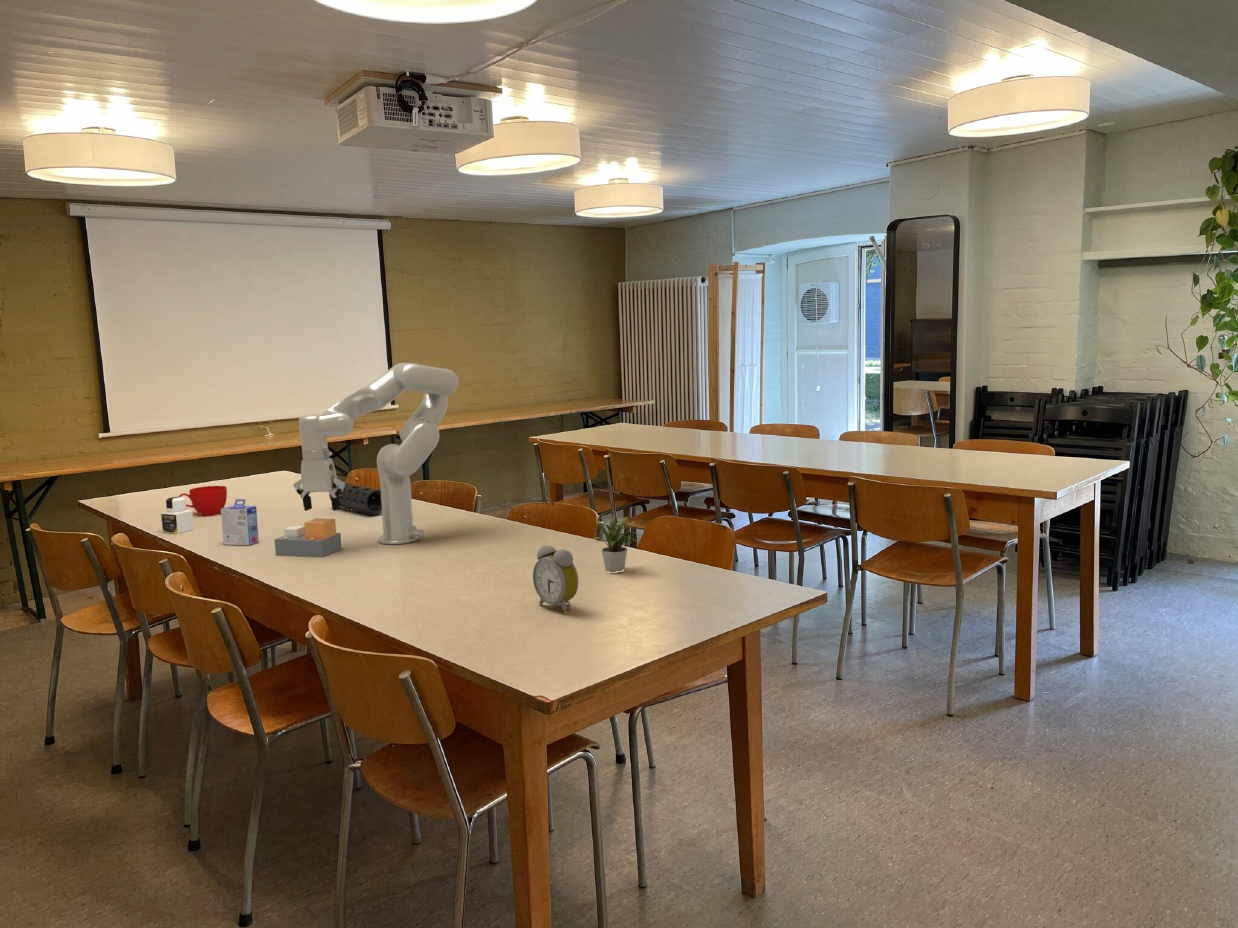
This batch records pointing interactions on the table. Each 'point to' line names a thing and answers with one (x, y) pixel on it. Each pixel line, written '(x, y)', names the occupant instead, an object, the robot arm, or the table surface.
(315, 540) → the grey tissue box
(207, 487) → the ceramic cup
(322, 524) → the cap
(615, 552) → the house plant
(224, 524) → the ink cartridge box
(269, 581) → the table surface
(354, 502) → the muzzle brake
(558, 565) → the alarm clock
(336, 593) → the table surface
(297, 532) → the white cube
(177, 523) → the medicine bottle
